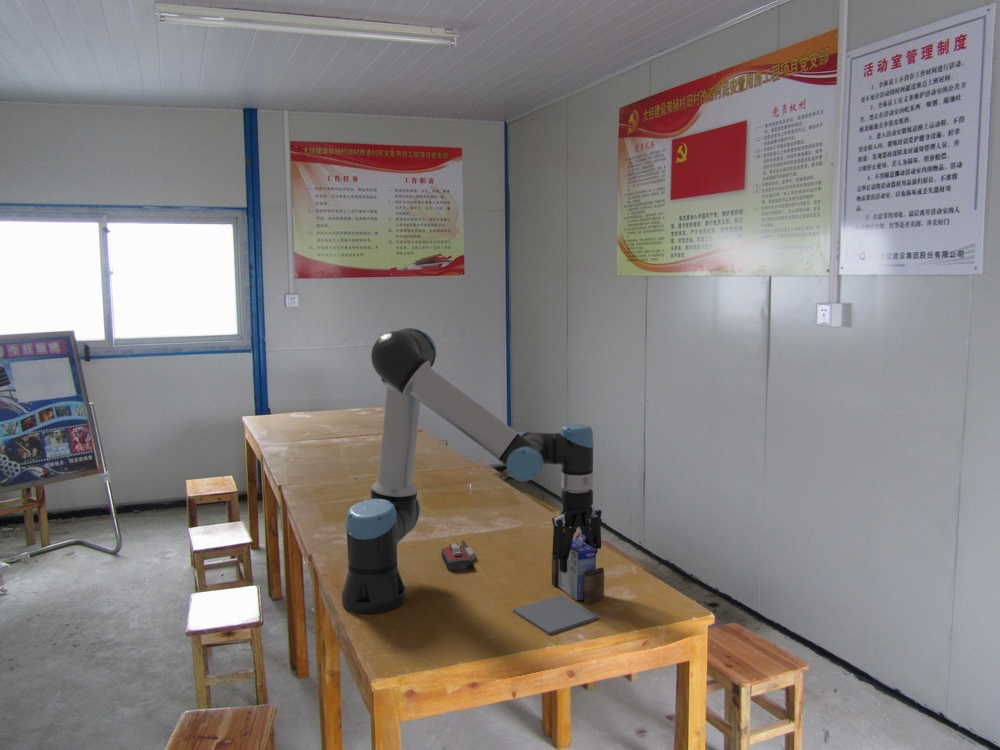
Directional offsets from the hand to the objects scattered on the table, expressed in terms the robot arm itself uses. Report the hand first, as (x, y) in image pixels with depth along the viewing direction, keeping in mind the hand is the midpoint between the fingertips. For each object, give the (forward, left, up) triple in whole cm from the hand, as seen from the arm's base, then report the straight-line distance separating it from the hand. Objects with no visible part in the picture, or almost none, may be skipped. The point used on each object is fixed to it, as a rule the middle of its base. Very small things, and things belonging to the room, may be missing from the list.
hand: (577, 580), depth 187 cm
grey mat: (-12, -7, -3) cm, 14 cm away
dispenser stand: (0, 0, -3) cm, 3 cm away
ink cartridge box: (0, 0, -3) cm, 3 cm away
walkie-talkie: (-12, +37, -4) cm, 39 cm away
